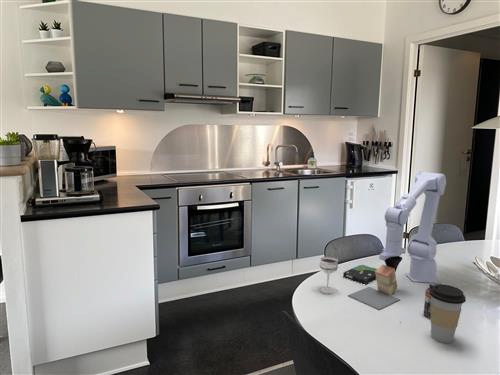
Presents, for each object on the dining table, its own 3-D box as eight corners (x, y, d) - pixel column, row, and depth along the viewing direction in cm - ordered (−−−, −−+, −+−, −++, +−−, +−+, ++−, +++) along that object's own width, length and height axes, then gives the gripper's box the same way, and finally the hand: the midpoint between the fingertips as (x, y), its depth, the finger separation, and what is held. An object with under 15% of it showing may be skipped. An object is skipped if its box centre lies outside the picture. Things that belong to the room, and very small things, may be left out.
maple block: (385, 283, 145) (382, 264, 142) (397, 288, 141) (394, 268, 138) (378, 290, 143) (375, 271, 139) (390, 295, 139) (387, 276, 135)
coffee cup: (418, 329, 116) (423, 283, 113) (447, 328, 116) (453, 283, 114) (436, 347, 106) (441, 297, 104) (467, 346, 107) (474, 296, 105)
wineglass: (336, 295, 138) (338, 263, 136) (317, 292, 139) (319, 261, 137) (336, 287, 145) (338, 257, 143) (318, 285, 146) (320, 255, 144)
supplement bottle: (441, 313, 126) (445, 281, 124) (444, 322, 120) (448, 288, 119) (422, 310, 128) (425, 279, 126) (424, 318, 122) (427, 285, 120)
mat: (369, 287, 145) (369, 286, 145) (400, 300, 135) (400, 299, 135) (347, 296, 137) (347, 295, 137) (379, 310, 127) (379, 309, 127)
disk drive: (365, 286, 147) (383, 276, 158) (366, 280, 147) (383, 270, 157) (342, 278, 155) (361, 269, 165) (342, 272, 154) (361, 263, 164)
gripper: (395, 234, 147) (392, 267, 149) (373, 240, 138) (370, 275, 140) (412, 238, 142) (408, 273, 144) (390, 245, 133) (387, 281, 135)
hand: (390, 274), depth 142 cm, fingers closed
